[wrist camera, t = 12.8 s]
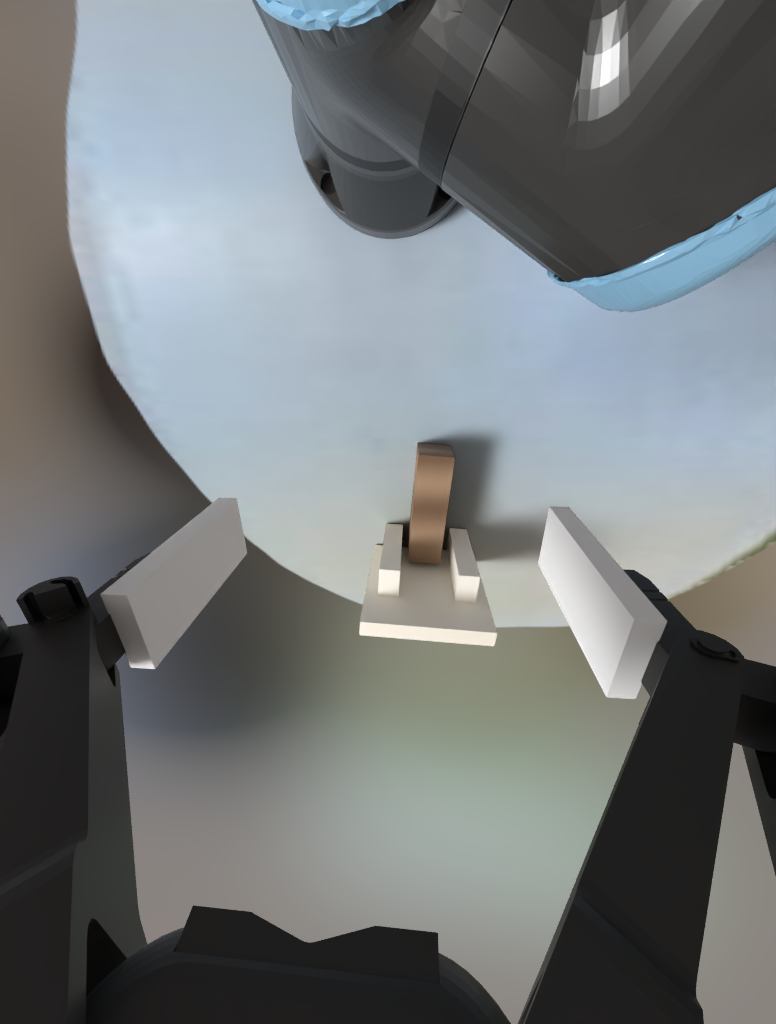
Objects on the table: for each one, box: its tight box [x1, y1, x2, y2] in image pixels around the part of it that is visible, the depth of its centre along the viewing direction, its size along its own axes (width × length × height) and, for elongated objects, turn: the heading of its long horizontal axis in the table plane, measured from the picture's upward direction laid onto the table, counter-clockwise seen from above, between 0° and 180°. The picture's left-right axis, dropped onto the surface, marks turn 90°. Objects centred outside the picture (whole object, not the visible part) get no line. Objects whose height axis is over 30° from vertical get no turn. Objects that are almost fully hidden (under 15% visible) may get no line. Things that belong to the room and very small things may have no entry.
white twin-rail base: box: [360, 524, 497, 646], centre depth 39 cm, size 4×12×14 cm, turn 87°
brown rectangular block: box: [408, 443, 455, 564], centre depth 40 cm, size 12×4×5 cm, turn 176°
